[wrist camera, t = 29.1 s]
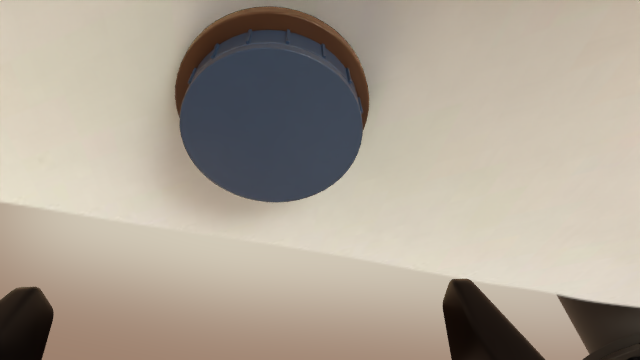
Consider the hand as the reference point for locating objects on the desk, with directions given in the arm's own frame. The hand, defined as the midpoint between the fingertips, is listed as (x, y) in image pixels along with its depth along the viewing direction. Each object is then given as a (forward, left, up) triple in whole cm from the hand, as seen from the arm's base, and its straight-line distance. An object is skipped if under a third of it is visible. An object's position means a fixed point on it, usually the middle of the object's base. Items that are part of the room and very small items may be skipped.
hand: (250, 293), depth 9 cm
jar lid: (0, 0, -7) cm, 7 cm away
